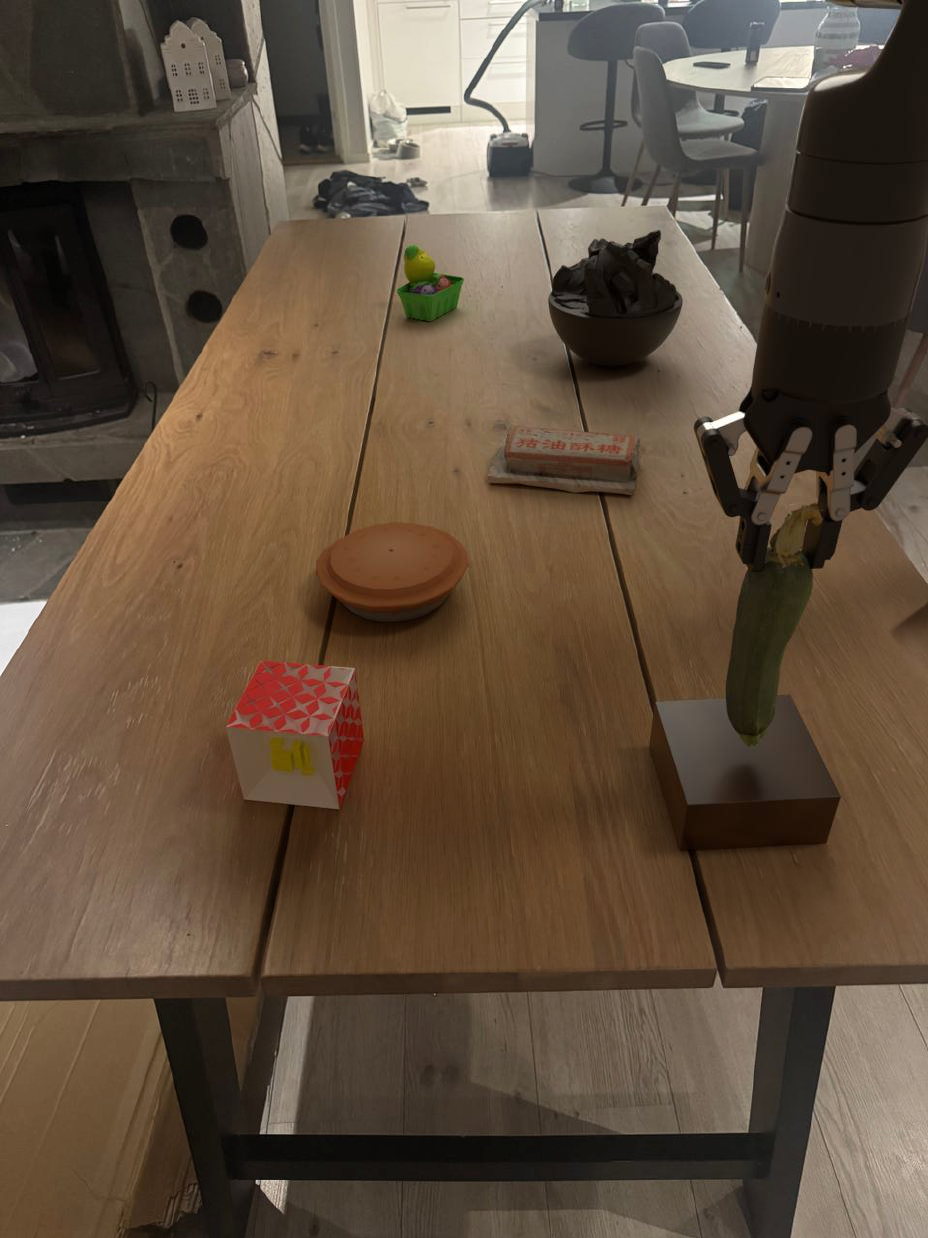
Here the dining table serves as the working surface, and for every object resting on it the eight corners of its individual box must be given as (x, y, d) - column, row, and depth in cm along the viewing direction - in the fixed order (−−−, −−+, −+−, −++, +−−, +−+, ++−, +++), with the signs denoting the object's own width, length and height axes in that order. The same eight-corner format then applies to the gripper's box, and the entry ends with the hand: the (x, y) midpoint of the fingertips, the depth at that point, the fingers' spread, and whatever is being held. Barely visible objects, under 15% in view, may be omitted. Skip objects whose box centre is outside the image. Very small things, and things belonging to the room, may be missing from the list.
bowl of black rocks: (554, 389, 137) (558, 257, 126) (540, 340, 153) (543, 220, 142) (688, 383, 137) (704, 252, 126) (661, 336, 153) (673, 215, 142)
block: (779, 739, 77) (790, 694, 74) (826, 843, 69) (841, 796, 66) (648, 746, 77) (654, 701, 74) (679, 851, 68) (687, 805, 65)
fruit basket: (432, 325, 160) (429, 258, 154) (390, 317, 164) (385, 251, 158) (466, 306, 168) (465, 241, 161) (426, 299, 172) (422, 235, 165)
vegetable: (703, 730, 70) (743, 496, 58) (739, 704, 72) (785, 474, 60) (753, 762, 67) (805, 523, 55) (788, 734, 69) (846, 498, 57)
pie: (500, 588, 96) (500, 548, 93) (386, 657, 88) (382, 614, 85) (402, 535, 105) (399, 496, 102) (290, 592, 97) (283, 552, 94)
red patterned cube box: (243, 799, 74) (225, 727, 69) (275, 731, 80) (260, 660, 75) (340, 809, 73) (329, 736, 68) (365, 739, 79) (355, 668, 74)
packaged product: (644, 425, 115) (637, 462, 108) (641, 460, 118) (633, 498, 110) (502, 414, 119) (486, 449, 111) (502, 448, 122) (486, 484, 114)
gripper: (726, 326, 47) (687, 603, 57) (1002, 313, 47) (914, 591, 57) (690, 281, 53) (661, 538, 63) (935, 269, 53) (866, 528, 63)
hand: (782, 562), depth 60 cm, fingers closed on vegetable, 3 cm apart
